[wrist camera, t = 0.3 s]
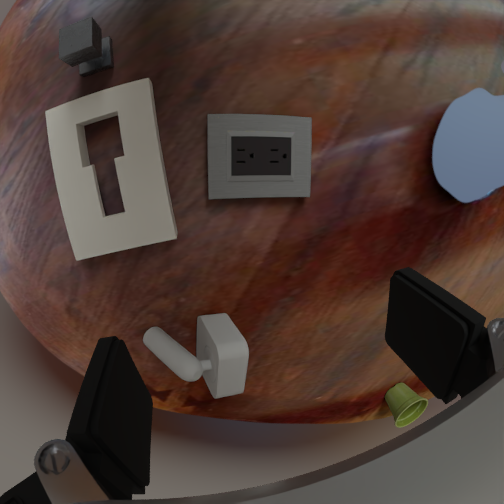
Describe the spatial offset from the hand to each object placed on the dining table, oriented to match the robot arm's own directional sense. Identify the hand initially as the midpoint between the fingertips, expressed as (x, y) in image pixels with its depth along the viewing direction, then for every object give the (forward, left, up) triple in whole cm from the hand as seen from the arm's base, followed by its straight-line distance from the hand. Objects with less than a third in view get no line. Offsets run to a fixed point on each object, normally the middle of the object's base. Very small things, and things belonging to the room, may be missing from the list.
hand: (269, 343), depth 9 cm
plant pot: (+52, +34, -30) cm, 69 cm away
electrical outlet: (-4, +7, -31) cm, 32 cm away
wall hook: (+20, -7, -31) cm, 37 cm away
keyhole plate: (-6, -12, -30) cm, 33 cm away
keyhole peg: (-22, -12, -30) cm, 40 cm away
